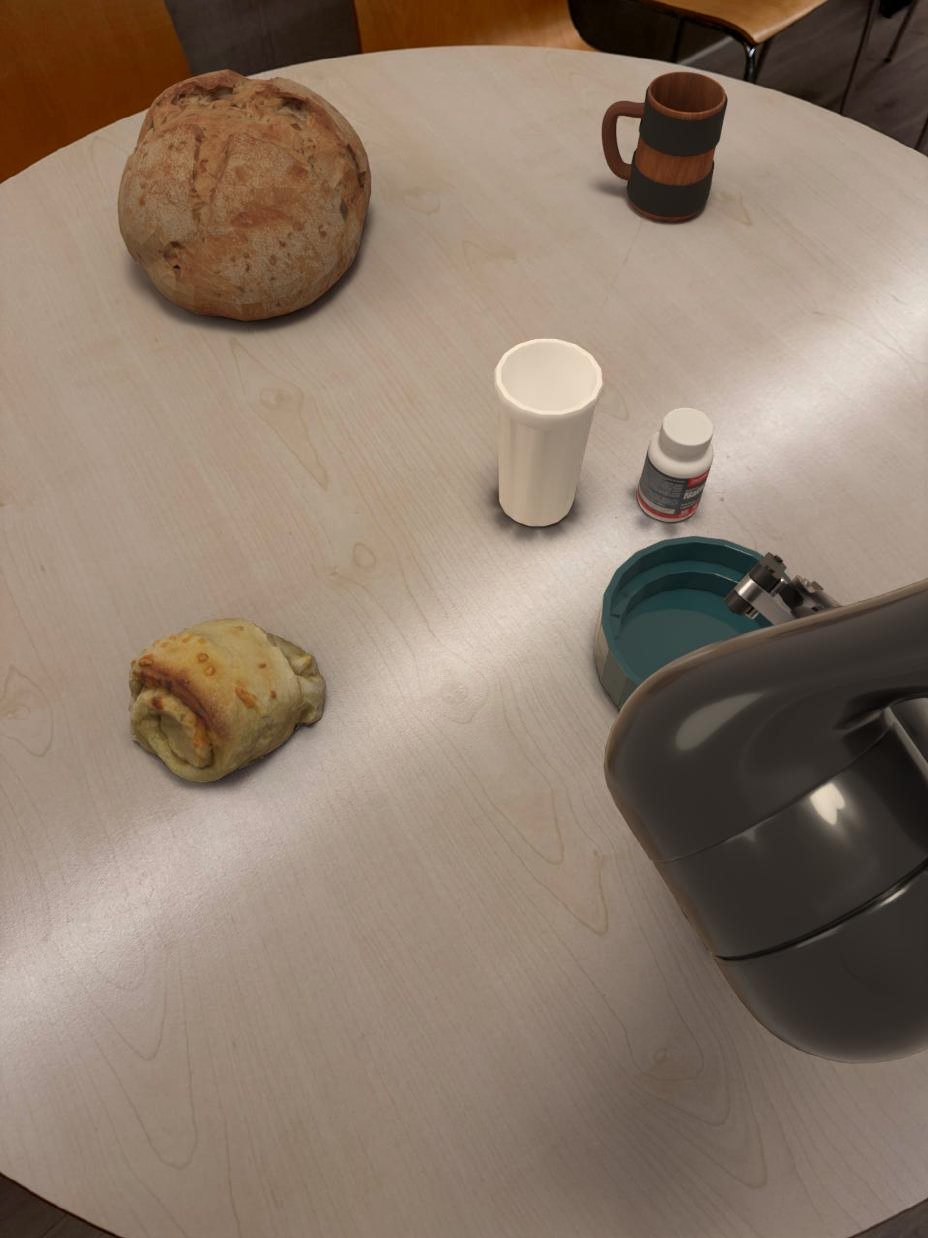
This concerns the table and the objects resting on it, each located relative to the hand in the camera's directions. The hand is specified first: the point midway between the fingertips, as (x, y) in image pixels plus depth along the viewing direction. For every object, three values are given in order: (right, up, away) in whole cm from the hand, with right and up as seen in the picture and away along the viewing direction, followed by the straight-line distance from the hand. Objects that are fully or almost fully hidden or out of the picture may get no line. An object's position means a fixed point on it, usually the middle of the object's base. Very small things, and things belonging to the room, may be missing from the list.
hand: (866, 652), depth 55 cm
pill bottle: (-4, +12, +32) cm, 34 cm away
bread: (-43, +40, +49) cm, 76 cm away
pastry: (-39, -5, +21) cm, 44 cm away
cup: (-16, +12, +31) cm, 37 cm away
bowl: (-4, -1, +23) cm, 24 cm away
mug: (-2, +46, +53) cm, 71 cm away
